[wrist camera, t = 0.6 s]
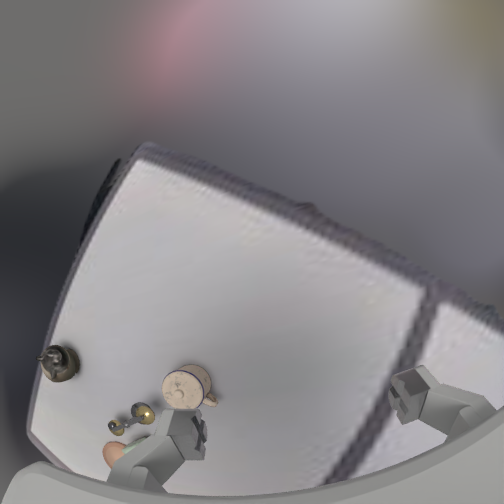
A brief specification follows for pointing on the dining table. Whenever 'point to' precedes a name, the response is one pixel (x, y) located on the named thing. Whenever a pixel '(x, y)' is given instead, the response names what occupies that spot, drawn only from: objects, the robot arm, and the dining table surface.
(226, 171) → the dining table surface
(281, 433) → the dining table surface
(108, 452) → the saucer
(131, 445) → the cover
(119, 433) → the balance
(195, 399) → the teacup with lid
